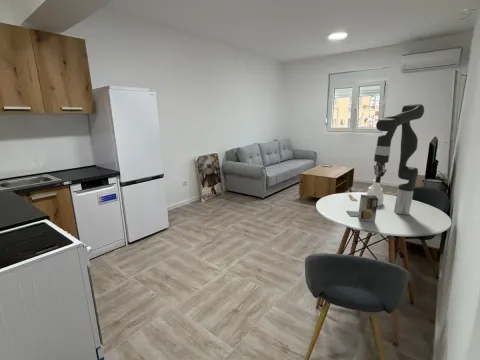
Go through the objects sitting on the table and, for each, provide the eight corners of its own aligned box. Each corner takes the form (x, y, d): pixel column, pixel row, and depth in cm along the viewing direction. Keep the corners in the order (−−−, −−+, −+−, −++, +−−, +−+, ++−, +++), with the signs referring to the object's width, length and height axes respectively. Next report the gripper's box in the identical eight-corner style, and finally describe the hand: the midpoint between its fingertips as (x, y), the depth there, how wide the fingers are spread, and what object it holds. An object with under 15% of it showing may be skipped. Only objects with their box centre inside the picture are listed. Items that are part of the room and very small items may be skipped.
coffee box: (372, 218, 173) (375, 195, 169) (374, 222, 167) (378, 198, 163) (357, 217, 175) (360, 194, 171) (359, 220, 168) (363, 197, 165)
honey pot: (361, 201, 209) (364, 179, 205) (372, 199, 214) (375, 178, 210) (375, 206, 198) (378, 183, 193) (386, 204, 203) (390, 181, 199)
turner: (347, 195, 223) (347, 194, 223) (352, 195, 223) (352, 194, 223) (352, 201, 209) (352, 200, 209) (357, 201, 208) (357, 200, 208)
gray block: (346, 211, 185) (346, 210, 185) (369, 212, 183) (369, 212, 183) (350, 216, 176) (350, 215, 175) (375, 218, 174) (375, 217, 173)
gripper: (371, 152, 158) (367, 179, 162) (379, 155, 145) (375, 185, 149) (384, 152, 157) (380, 180, 161) (394, 155, 144) (388, 185, 149)
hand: (377, 182), depth 155 cm, fingers closed
